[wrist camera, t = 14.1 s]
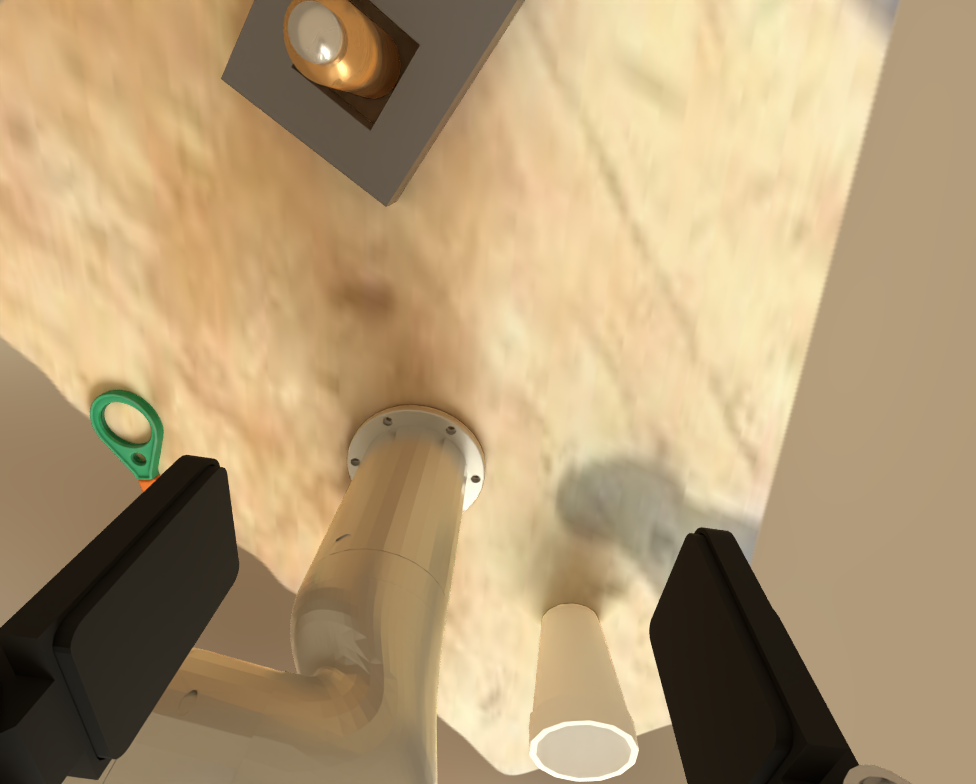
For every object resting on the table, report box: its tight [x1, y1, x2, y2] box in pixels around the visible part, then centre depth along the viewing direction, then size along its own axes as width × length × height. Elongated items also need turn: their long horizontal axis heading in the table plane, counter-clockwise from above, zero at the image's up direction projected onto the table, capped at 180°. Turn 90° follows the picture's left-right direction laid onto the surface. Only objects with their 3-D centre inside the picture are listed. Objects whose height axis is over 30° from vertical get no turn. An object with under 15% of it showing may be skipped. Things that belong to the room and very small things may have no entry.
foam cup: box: [529, 603, 639, 782], centre depth 49 cm, size 10×9×13 cm
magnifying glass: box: [90, 390, 163, 492], centre depth 48 cm, size 15×6×2 cm, turn 2°
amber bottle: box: [283, 0, 400, 98], centre depth 28 cm, size 4×4×10 cm
